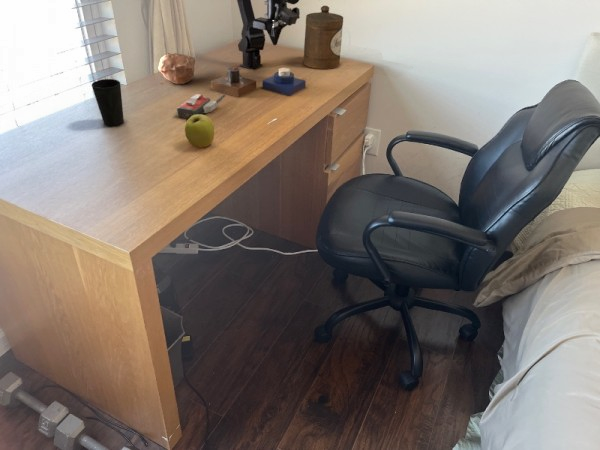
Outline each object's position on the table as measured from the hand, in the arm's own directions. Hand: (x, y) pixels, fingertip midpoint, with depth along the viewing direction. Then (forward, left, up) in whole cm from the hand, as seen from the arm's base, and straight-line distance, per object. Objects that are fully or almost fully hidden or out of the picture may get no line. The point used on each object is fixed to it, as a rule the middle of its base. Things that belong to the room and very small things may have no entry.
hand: (274, 44), depth 173 cm
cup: (-14, -63, -12) cm, 66 cm away
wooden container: (+5, +26, -12) cm, 29 cm away
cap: (+9, -7, -7) cm, 14 cm away
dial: (-4, -19, -9) cm, 21 cm away
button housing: (+9, -7, -12) cm, 17 cm away
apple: (+16, -58, -12) cm, 62 cm away
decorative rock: (-25, -25, -12) cm, 37 cm away
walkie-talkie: (-1, -39, -12) cm, 41 cm away
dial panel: (-4, -19, -12) cm, 23 cm away
